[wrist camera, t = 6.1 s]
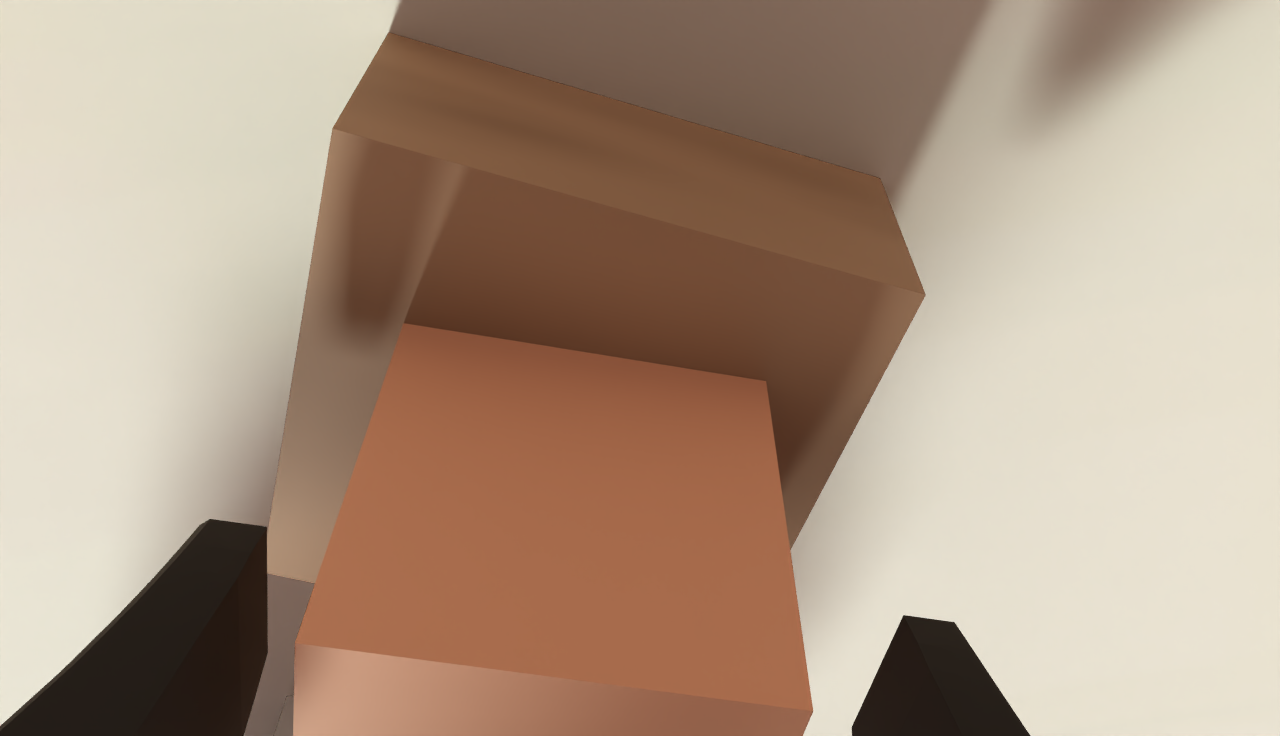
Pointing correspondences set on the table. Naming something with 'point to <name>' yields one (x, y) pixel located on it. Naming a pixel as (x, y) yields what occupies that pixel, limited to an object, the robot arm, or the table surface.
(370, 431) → the rust block
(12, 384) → the table surface
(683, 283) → the walnut slab
